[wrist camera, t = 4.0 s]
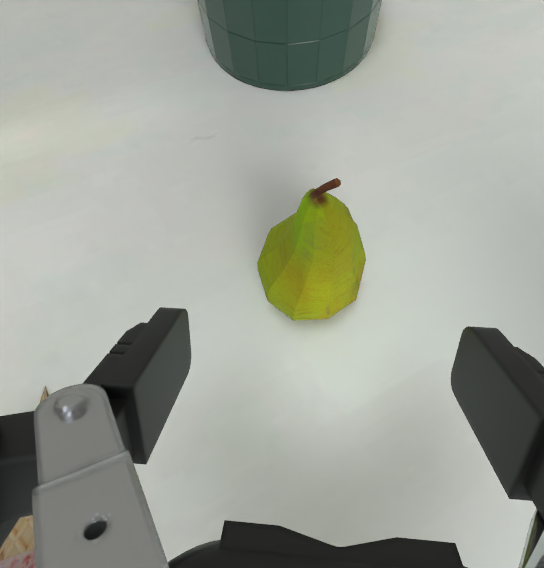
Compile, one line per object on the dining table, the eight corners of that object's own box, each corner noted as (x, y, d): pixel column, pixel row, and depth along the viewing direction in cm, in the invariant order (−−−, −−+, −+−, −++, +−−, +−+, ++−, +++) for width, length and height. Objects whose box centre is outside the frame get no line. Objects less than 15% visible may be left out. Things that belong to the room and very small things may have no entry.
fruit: (296, 224, 26) (301, 70, 15) (375, 271, 24) (450, 138, 13) (241, 297, 24) (199, 186, 13) (323, 352, 23) (357, 279, 11)
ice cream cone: (4, 406, 23) (-41, 768, 15) (-11, 372, 20) (-81, 815, 12) (89, 395, 25) (90, 709, 17) (87, 363, 22) (88, 733, 14)
